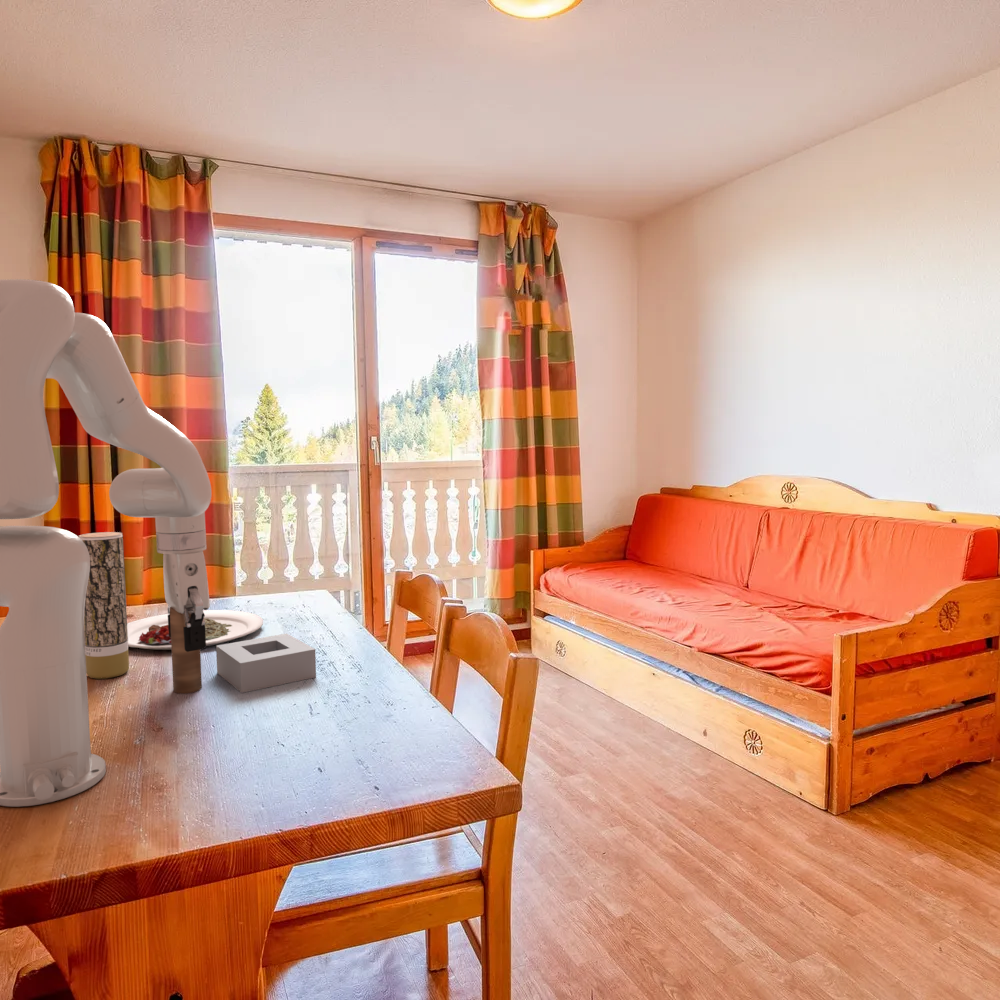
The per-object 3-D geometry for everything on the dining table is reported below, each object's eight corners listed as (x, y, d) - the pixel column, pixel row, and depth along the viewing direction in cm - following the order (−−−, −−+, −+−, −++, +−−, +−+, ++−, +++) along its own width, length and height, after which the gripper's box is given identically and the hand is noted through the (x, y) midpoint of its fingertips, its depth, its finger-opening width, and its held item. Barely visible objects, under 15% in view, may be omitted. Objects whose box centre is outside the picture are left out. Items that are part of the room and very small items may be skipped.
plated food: (281, 618, 175) (281, 603, 175) (233, 656, 145) (232, 639, 145) (153, 617, 176) (153, 603, 175) (79, 655, 146) (78, 638, 146)
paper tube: (111, 681, 130) (104, 537, 128) (77, 678, 131) (69, 536, 129) (137, 669, 137) (131, 532, 134) (105, 667, 138) (97, 531, 136)
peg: (205, 689, 125) (201, 607, 124) (177, 695, 123) (173, 611, 122) (197, 682, 129) (194, 602, 128) (170, 688, 126) (166, 606, 125)
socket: (316, 677, 132) (315, 649, 131) (241, 692, 124) (240, 663, 123) (287, 659, 142) (286, 633, 142) (217, 673, 134) (216, 645, 134)
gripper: (221, 546, 119) (226, 651, 121) (190, 533, 133) (195, 627, 135) (171, 551, 115) (177, 660, 117) (144, 537, 128) (150, 635, 130)
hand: (187, 642), depth 126 cm, fingers open, 9 cm apart
